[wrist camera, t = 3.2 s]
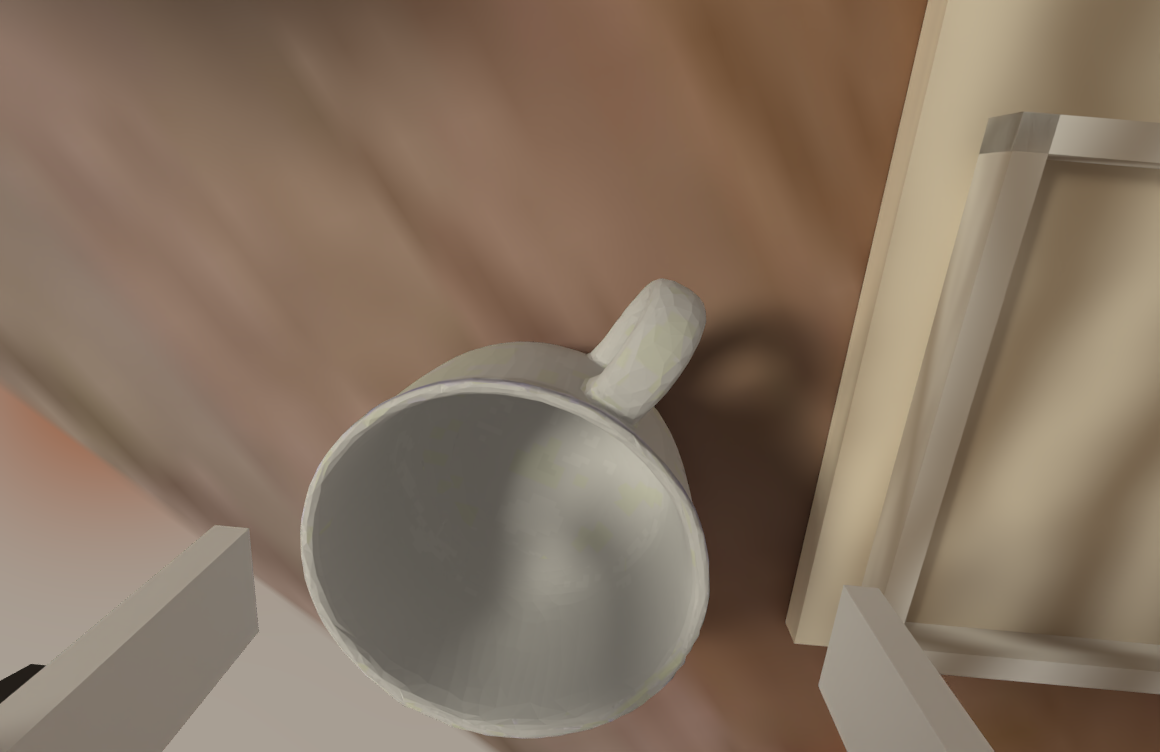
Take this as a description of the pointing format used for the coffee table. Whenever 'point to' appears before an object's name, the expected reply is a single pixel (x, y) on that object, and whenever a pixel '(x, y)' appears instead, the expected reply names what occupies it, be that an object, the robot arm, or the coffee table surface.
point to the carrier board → (1008, 357)
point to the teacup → (519, 531)
